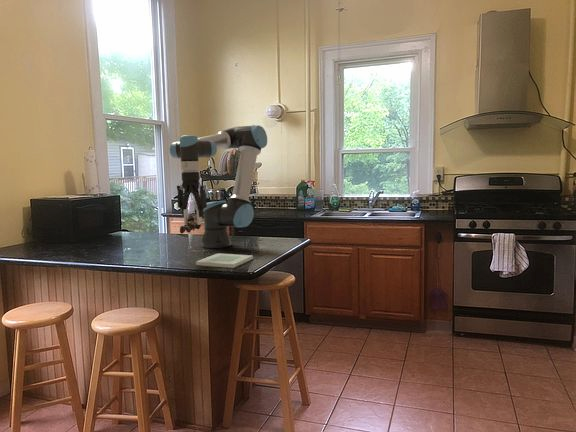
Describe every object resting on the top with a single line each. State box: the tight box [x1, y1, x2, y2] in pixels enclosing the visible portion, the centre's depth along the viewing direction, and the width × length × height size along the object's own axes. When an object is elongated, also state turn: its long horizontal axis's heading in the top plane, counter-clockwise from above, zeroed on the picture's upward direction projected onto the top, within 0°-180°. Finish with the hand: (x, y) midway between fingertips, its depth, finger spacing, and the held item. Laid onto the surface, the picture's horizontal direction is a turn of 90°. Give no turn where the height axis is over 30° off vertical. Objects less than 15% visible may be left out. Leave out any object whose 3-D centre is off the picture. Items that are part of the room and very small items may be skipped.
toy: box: [179, 215, 204, 235], centre depth 199 cm, size 6×7×15 cm
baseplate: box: [195, 253, 254, 269], centre depth 197 cm, size 18×18×2 cm
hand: (193, 224), depth 200 cm, fingers closed on toy, 6 cm apart
